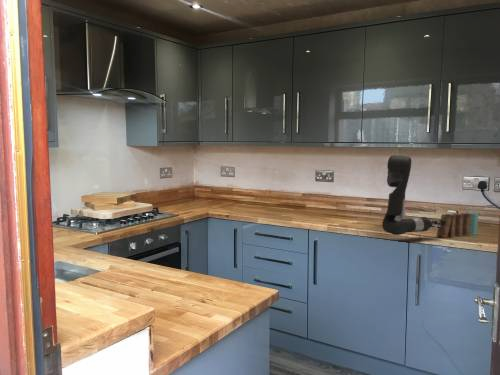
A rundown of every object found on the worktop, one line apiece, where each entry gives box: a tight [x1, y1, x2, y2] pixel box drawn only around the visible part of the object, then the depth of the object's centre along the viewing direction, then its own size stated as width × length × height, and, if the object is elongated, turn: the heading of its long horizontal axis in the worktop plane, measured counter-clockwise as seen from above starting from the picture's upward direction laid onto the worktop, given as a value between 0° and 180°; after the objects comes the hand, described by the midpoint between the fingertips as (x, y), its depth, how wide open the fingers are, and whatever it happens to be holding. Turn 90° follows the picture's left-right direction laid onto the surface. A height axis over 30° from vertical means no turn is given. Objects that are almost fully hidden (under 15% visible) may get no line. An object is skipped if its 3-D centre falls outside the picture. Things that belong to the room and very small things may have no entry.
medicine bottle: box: [446, 209, 459, 215], centre depth 240 cm, size 7×7×12 cm
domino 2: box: [444, 213, 456, 239], centre depth 225 cm, size 5×2×12 cm, turn 22°
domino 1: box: [436, 213, 452, 239], centre depth 223 cm, size 5×2×12 cm, turn 22°
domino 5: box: [467, 211, 479, 236], centre depth 231 cm, size 5×2×12 cm, turn 22°
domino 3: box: [453, 213, 464, 238], centre depth 227 cm, size 5×2×12 cm, turn 22°
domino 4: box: [459, 212, 471, 237], centre depth 229 cm, size 5×2×12 cm, turn 22°
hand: (443, 222), depth 223 cm, fingers closed
